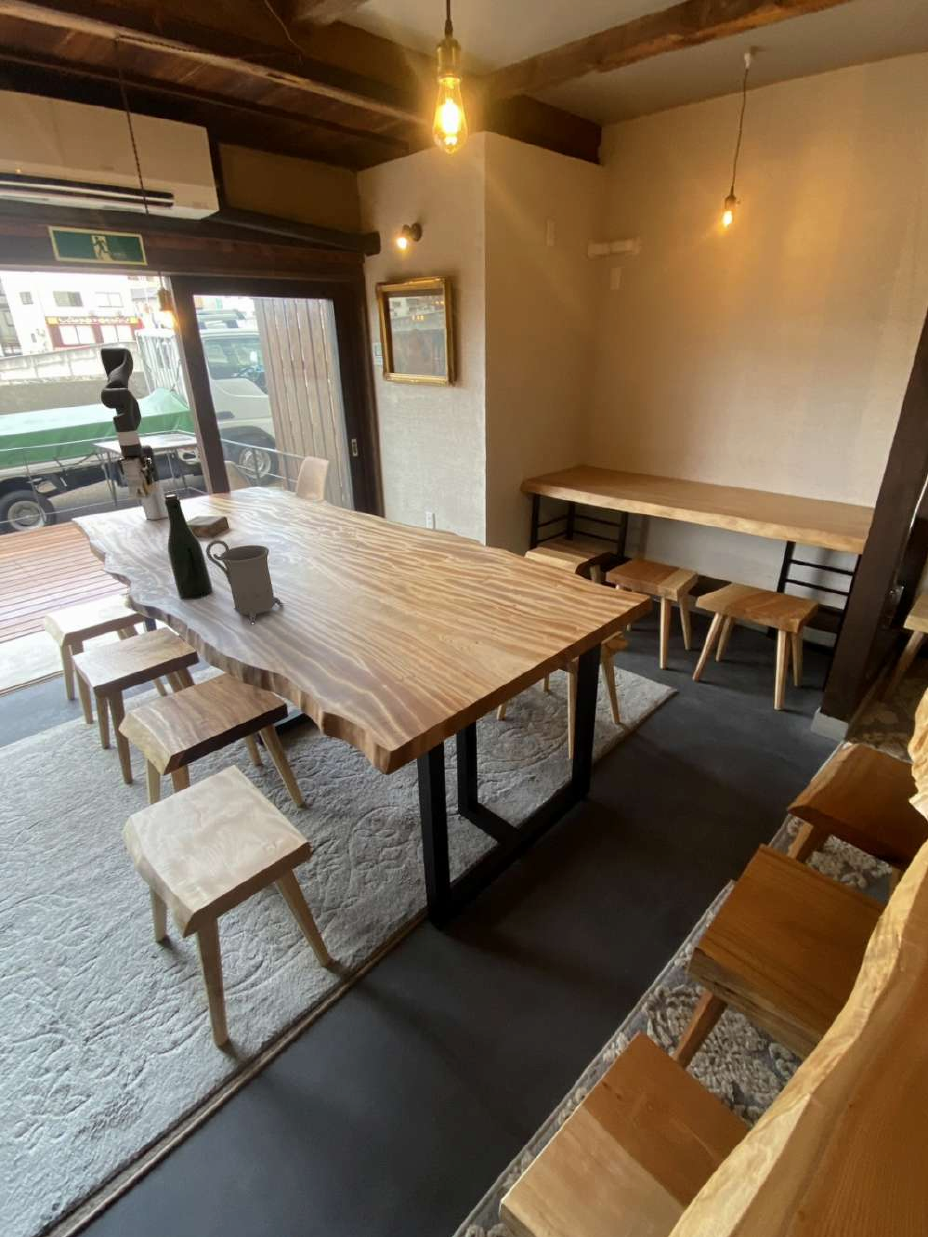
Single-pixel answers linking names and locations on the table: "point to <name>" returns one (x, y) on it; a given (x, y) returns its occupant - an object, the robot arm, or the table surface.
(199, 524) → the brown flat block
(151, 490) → the coffee box
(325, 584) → the table surface
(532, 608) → the table surface
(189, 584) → the beer bottle
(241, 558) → the mug
